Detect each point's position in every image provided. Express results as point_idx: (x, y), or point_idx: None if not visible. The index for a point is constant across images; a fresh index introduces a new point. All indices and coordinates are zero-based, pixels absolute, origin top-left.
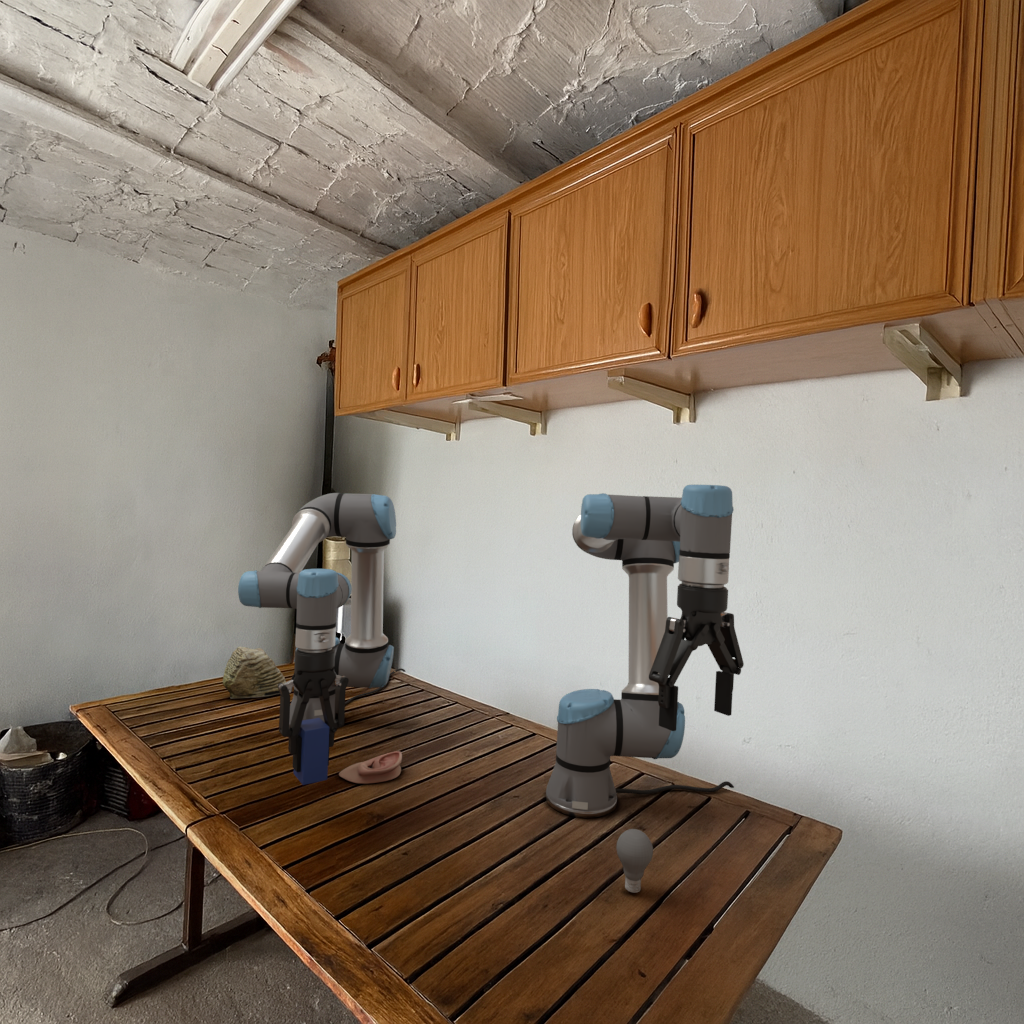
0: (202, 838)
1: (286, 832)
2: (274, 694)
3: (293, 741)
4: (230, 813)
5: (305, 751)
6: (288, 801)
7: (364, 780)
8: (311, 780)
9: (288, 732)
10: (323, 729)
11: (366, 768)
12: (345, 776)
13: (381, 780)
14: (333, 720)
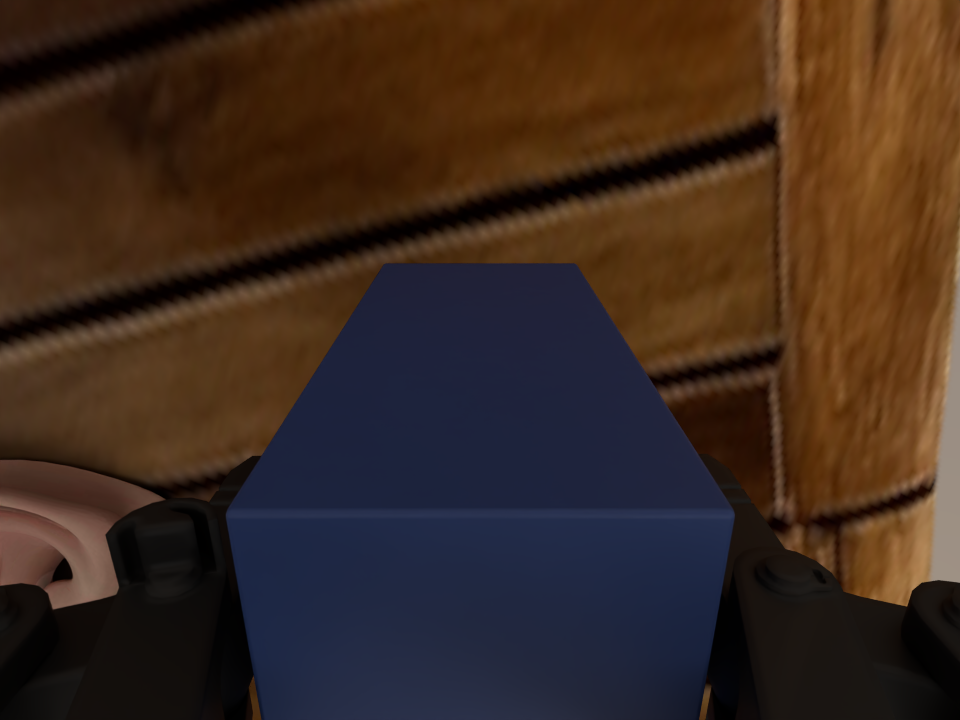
0: (937, 358)
1: (616, 217)
2: None
3: (744, 543)
4: (756, 505)
5: (622, 356)
6: None
7: (123, 497)
8: (512, 267)
9: (934, 630)
10: (356, 491)
11: (80, 554)
12: None
13: (38, 467)
14: (83, 698)
